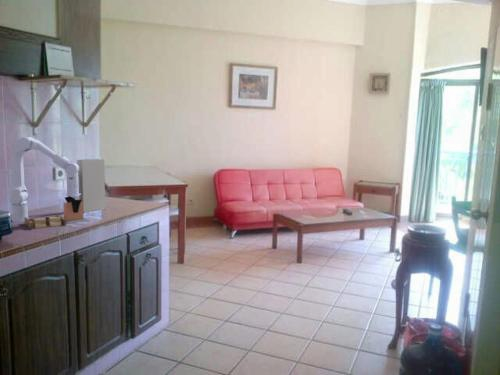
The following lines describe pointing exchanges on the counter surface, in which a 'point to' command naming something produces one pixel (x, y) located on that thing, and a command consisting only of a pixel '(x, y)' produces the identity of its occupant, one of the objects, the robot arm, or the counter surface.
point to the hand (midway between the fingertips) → (73, 211)
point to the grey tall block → (91, 184)
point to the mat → (77, 220)
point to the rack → (31, 222)
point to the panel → (70, 214)
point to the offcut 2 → (54, 221)
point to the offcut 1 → (39, 223)
